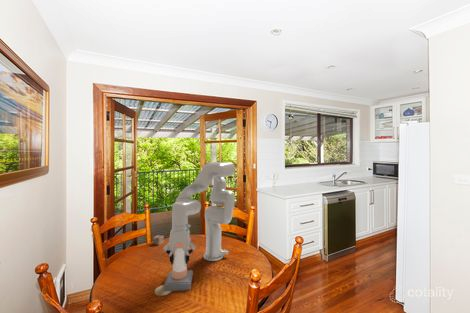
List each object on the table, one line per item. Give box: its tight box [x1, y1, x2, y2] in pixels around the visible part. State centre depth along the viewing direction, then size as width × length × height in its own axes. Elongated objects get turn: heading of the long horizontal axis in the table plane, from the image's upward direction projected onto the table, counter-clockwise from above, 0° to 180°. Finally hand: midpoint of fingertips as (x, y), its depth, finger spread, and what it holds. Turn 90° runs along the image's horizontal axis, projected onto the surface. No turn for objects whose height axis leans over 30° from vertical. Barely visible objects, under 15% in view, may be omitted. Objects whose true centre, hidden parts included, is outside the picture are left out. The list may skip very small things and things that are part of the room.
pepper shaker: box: [171, 243, 188, 279], centre depth 109 cm, size 7×7×19 cm
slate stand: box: [163, 269, 194, 292], centre depth 108 cm, size 12×12×3 cm
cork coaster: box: [154, 284, 172, 297], centre depth 103 cm, size 8×8×1 cm
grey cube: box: [152, 234, 165, 246], centre depth 156 cm, size 5×5×5 cm
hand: (179, 262), depth 108 cm, fingers closed on pepper shaker, 6 cm apart
